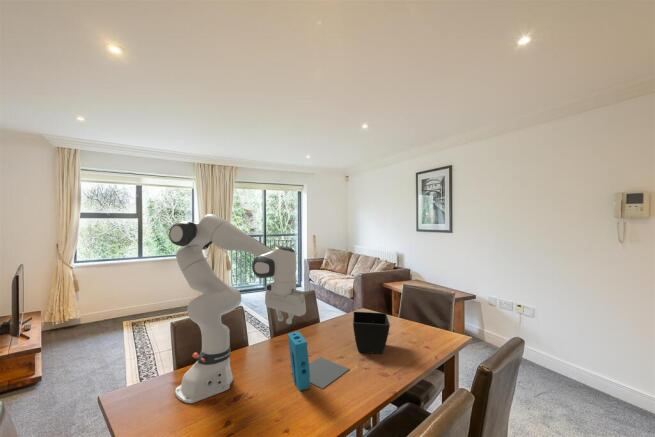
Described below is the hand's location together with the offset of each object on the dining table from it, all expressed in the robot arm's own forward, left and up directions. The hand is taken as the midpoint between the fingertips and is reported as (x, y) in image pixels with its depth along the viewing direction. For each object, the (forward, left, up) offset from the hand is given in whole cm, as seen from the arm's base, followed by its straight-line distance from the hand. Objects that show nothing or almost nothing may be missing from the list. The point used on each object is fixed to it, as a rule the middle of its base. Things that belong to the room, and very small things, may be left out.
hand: (284, 322), depth 114 cm
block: (+10, 0, -29) cm, 31 cm away
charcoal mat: (+23, 0, -29) cm, 37 cm away
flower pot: (+59, -5, -29) cm, 66 cm away
